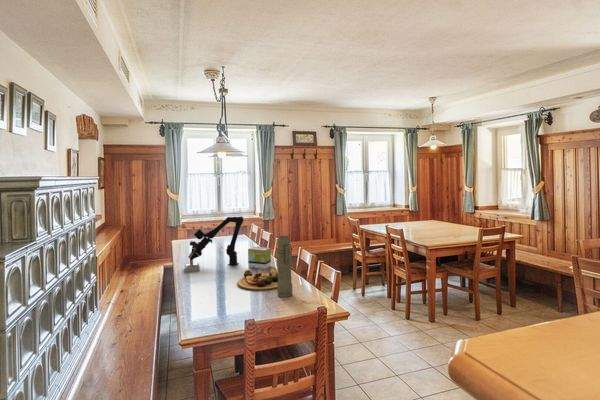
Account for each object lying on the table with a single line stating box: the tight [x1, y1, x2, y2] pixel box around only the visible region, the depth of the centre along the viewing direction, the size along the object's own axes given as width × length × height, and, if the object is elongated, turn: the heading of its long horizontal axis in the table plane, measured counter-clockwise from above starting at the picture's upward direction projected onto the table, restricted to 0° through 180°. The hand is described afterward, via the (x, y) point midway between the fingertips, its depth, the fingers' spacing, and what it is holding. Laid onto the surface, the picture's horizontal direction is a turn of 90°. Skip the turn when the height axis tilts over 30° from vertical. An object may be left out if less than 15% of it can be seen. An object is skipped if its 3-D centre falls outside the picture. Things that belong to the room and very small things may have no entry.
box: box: [184, 262, 200, 273], centre depth 284 cm, size 12×10×4 cm
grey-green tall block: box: [276, 235, 294, 299], centre depth 220 cm, size 9×12×35 cm
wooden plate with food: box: [236, 268, 278, 292], centre depth 246 cm, size 32×32×8 cm
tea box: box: [247, 246, 272, 270], centre depth 290 cm, size 15×10×15 cm
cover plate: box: [185, 252, 198, 266], centre depth 296 cm, size 10×8×11 cm
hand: (189, 258), depth 294 cm, fingers open, 9 cm apart
